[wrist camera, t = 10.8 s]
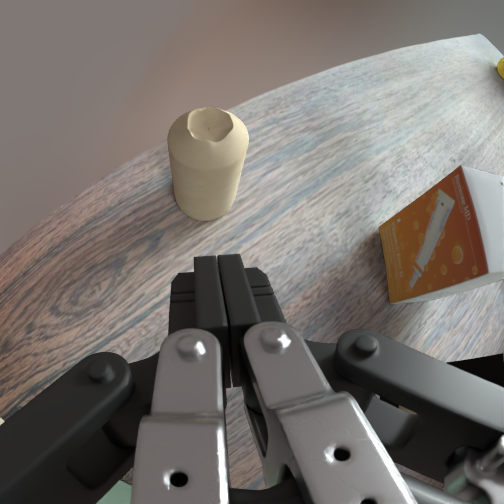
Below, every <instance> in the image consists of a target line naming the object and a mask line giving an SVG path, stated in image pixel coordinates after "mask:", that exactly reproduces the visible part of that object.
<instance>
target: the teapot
mask: <svg viewBox="0 0 504 504" xmlns="http://www.w3.org/2000/svg"><path fill="white" fill-rule="evenodd" d="M497 71H498V73H499V74H500V76H501V77H502V78H503V79H504V57H503V58H502V59H501V60H500V61H499V62H498V65H497Z"/></svg>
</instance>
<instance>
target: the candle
mask: <svg viewBox="0 0 504 504" xmlns="http://www.w3.org/2000/svg"><path fill="white" fill-rule="evenodd" d="M248 142H249V137H248V132H247V129H246V127H245V126H244V124H243V123H242V121H241V120H239V119H238V118H237V117H236V116H235V115H233V114H231V113H229V112H227V111H224V110H221V109H218V108H214V107H211V108H200V109H196V110H192V111H189V112H187V113H185V114H183V115H182V116H180V117H179V118H178V119H177V120H176V121H175V122H174V123H173V125H172V126H171V128H170V130H169V133H168V149H169V157H170V165H171V173H172V180H173V187H174V194H175V199H176V202H177V204H178V206H179V208H180V209H181V210H182V212H184V213H185V214H186V215H187V216H189V217H191V218H193V219H196V220H201V221H209V220H214V219H217V218H219V217H221V216H223V215H224V214H225V213H227V212H228V210H229V209H230V208H231V206H232V205H233V203H234V200H235V196H236V192H237V188H238V184H239V180H240V176H241V172H242V167H243V163H244V159H245V155H246V151H247V147H248Z"/></svg>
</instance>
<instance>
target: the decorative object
mask: <svg viewBox="0 0 504 504" xmlns="http://www.w3.org/2000/svg"><path fill="white" fill-rule="evenodd" d="M447 364H449V365H451V366H454V367H456V368H458V369H461V370H463V371H465V372H468V373H470V374H472V375H475V376H477V377H480V378H482V379H484V380H487V381H489V382H491V383H494V384H496V385H499V386H501V387H503V388H504V358H503V353H502V354H497V355H491V356H486V357H480V358H474V359H468V360H461V361H454V362H447ZM380 400H382V401H384V402H386V403H388V404H390V405H392V406H394V407H396V408H398V409H401V410H403V411H405V412H407V413H409V414H417V413H415V412H413V411H411V410H409V409H406V408H404V407H402V406H400V405H398V404H396V403H394V402H392V401H390V400H387V399H385V398H383V397H381V396H380ZM393 462H394V461H393ZM395 463H396V462H395Z"/></svg>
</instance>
